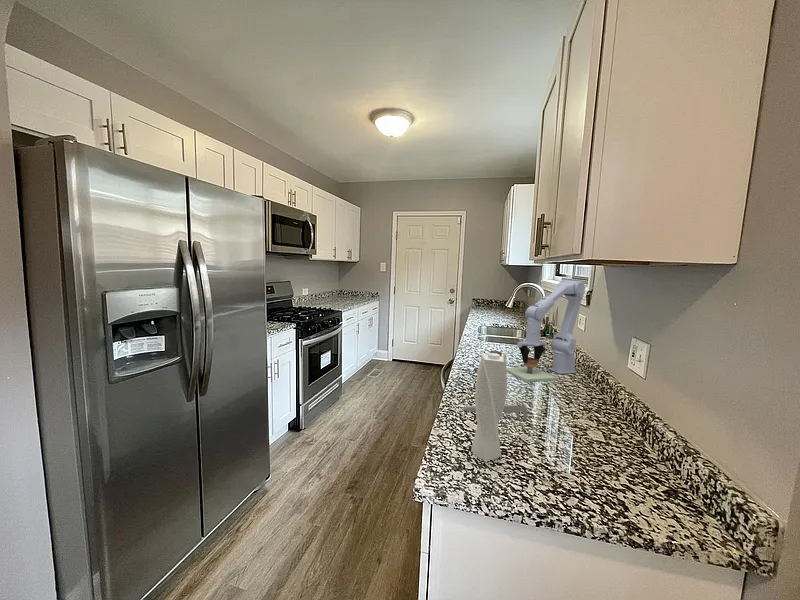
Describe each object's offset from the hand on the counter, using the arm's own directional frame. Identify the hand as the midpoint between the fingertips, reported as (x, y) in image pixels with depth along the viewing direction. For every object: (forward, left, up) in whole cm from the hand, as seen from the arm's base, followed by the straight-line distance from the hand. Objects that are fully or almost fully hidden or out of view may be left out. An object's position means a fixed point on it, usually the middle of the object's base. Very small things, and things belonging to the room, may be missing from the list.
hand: (530, 362), depth 152 cm
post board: (0, 0, -6) cm, 6 cm away
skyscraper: (+55, +54, -6) cm, 77 cm away
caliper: (+40, +33, -7) cm, 53 cm away
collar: (0, 0, -2) cm, 2 cm away
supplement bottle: (+20, +2, -6) cm, 21 cm away
